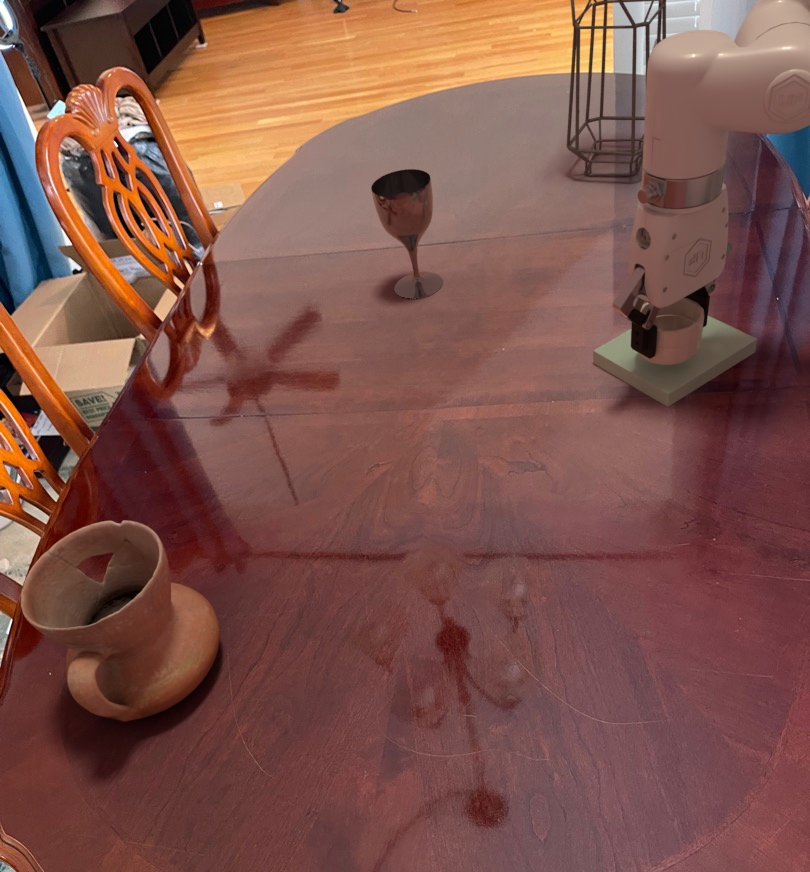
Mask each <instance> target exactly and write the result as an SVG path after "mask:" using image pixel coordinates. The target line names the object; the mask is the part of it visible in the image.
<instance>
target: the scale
mask: <svg viewBox="0 0 810 872" xmlns="http://www.w3.org/2000/svg"><path fill="white" fill-rule="evenodd" d="M757 344H758V338H757V337H755V336H752V335H750V334H748V333H746V332H744V331H742V330H740V329H737V328H736V327H733V326H731V325H729V324H727V323H725V322H723V321H720V320H718V319H716V318H714V317H713V316H710V315H708V318H707V325H706V326H705V327H703V331H702V339H701V347H700V349H699V350H698V352H697V353H696V354H695V355H694V356H693V357H692V358H690V359H689V360H687V361H685V362H682V363H679V364H674V365H660V364H655V363H652V362H649V361H647V360H645V359H644V358H643V357H642V356H641V355H640V354H639V353H638V352H636V351H635V350H633V349H632V348H631V328H630V329H628V330H626V331H624V332H623V333H621V334H620V335H619V334H618V336H616V337H614V338H612V339H611V340H609V341H607V342H605V343H604V344H602V345H600V346H598V347H597V348H595V349H593V351H592V364H594V365H595V366H597V367H598V368H600V369H602V370H603V371H605V372H607V373H609V374H611V375H612V376H614V377H616V378H617V379H619V380H621V381H623V382H624V383H626V384H628V385H629V386H631V387H632V388H635V389H636V390H638V391H639V392H641V393H643V394H645V395H647V396H648V397H650V398H652V399H653V400H655V401H657V402H658V403H660V404H661V405H663V406H665V407H666V408H669V407H670V406H671V405H673V404H675V403H677V402H678V401H679V400H681V399H683V398H684V397H686V396H688V395H689V394H691V393H692V392H694V391H696V390H697V389H698V388H701V387H702V386H703V385H705V384H707V383H709V382H710V381H712V380H713V379H715V378H716V377H718V376H719V375H721V374H723V373H724V372H726V371H727V370H729V369H731V368H732V367H733V366H735V365H737V364H739V363H741V362H742V361H744V360H745V359H747V358H749V357H750V356H752V355H753V354H755V353H756V350H757Z"/></svg>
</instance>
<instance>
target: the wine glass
mask: <svg viewBox="0 0 810 872" xmlns="http://www.w3.org/2000/svg"><path fill="white" fill-rule="evenodd" d="M370 189H371V196H372V201H373V205H374V209H375V211H376V214H377V217H378V219H379V221H380V224H381V226H382V228H384V231H385V232H386V233H387V234H388V235H390V236H391V237H392V238H394V239H395V240H396V241H398V242H399V243H400V244H401V245H403V246H404V247H405V249H406V251H407V253H408V256H409V259H410V262H411V266H412V273H409V274H408V275H406V276H403V277H402V278H400V279H399V280H398V281H397V282H396V283H395V285H394V290H393V291H394V293H395V295H396V296H398V295H399V296H398V297H400V296H401V297H400V298H402V297H405V298H404V299H406V298H410V299H409V300H417V299H416V298H418V299H423V298H426V297H430V296H432V295H433V294H436V293H437V292H439V290H440V289H442V286H443V285H444V280H443V278H442V276H441V275H440V274H438V273H435V272H431V271H419V263H418V247H419V243H420V241H421V239H422V237H424V235H425V233H426V231H427V230H428V228H429V227H430V224H431V223H432V219H433V213H434V193H433V184H432V178H431V175H430V174H429V173H428V172H427V171H425V170H421V169H416V168H415V169H413V168H408V169H407V168H406V169H400V170H396V171H392V172H390V173H386V174H383V175H382V176H380V177H378V178H377V179H376V180H375V181H374V182H373V183H372V185H371V188H370ZM411 298H412V299H411Z"/></svg>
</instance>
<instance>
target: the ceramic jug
mask: <svg viewBox="0 0 810 872" xmlns="http://www.w3.org/2000/svg"><path fill="white" fill-rule="evenodd" d="M105 554H106V555H107V554H112V555H111V559H110V560H109V561H108V563H107V567H106V571H105V574H104V576H103V581H102V582H99V581H97V580H95V579H93V578H91V577H89V576H88V575H86V574H85V573H84V572H83V571H81V570H80V569H78V566H79V565H80V564H81V563H82V562H84V561H85V560H87V559H90V558H92V557H96V556H101V555H105ZM171 580H172V579H171V571H170V564H169V559H168V555H167V552H166V549H165V546H164V543H163V542H162V540H161V538H160V537H159V535H158V533H156V532H155V530H153V529H152V528H151V527H149V526H147V525H146V524H144V523H141V522H138V521H133V520H127V519H124V520H122V521H121V522H119V523H118V522H115V521H113V520H104V521H99V522H95V523H91V524H89V525H85V526H83V527H80V528H78V529H76V530H74V531H72V532H70V533H69V534H67V535H65V536H64V537H63V538H61V539H59V540H58V541H57V542H56V543H54V544H53V545H52V546H51V547H50V548H49V549H48V550H47V551H45V552H44V553H43V554H42V555H41V556H40V557H39V558H38V559H37V561H36V562H35V563H34V565H32V567H31V568H30V570H29V572H28V574H27V575H26V578H25V580H24V583H23V586H22V589H21V594H20V608H21V611H22V614H23V616H24V618H25V620H26V621H27V622H28V623H29V624H30V625H31V626H32V627H34V629H36V630H37V631H39V632H40V633H41V634H42V635H44V636H45V637H47V638H48V639H50V640H52V641H54V642H56V643H57V644H59V645H61V646H62V647H63V646H64V647H66V648H68V649H67V653H66V658H65V664H64V665H65V667H64V668H65V678H66V683H67V687H68V690H69V693H70V694H71V696H72V698H73V699H74V701H75V702H76V703H77V704H79V706H81V707H82V708H83V709H85V710H87V711H88V712H90V713H91V714H94V715H96V716H99V717H103V718H106V719H111V720H115V721H116V720H117V721H120V722H130V721H134V720H141V719H144V718H147V717H150V716H154V715H157V714H160V713H161V712H164V711H166V710H168V709H170V708H172V707H173V706H175V705H177V704H178V703H180V702H181V701H183V700H184V699H185V698H187V697H188V696H189V695H191V693H193V691H195V689H197V687H199V685H200V684H201V683H202V682H203V680H205V678H206V676H207V675H208V673H209V671H210V670H211V668H212V667H213V665H214V662H215V660H216V657H217V654H218V651H219V646H220V639H221V630H220V623H219V619H218V616H217V614H216V611H215V609H214V607H213V605H212V604H211V603H210V602H209V600H208V599H207V598H206V597H204V596H203V595H202V594H201V593H200V592H198V591H196V590H195V589H193V588H191V587H189V586H186V585H184V584H181V583H177V582H172V581H171Z"/></svg>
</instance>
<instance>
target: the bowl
mask: <svg viewBox="0 0 810 872" xmlns="http://www.w3.org/2000/svg"><path fill="white" fill-rule="evenodd" d="M649 305H650V303H648V302H644V303H643V306H642V308H641V311H640V312H642V313H643V314H645V315H646V313H647V310H648V308H649ZM703 322H704V309H703V308H702V307H701V306H700V305H699V304H698V303H697V302H695V301H693V300H690V299H688V298H682V299H680V300H679V301H677V302H675V303H673V304H671V305H669V306H667V307H665V308H660V309H659V312H658V314H657V316H656V319H655V321H654V325H656V326H657V342H656V354H655V356H654V357H653V358H651V359H649V358H647V357H645V356H644V355H642V354H640V353H639V354H640V355H641V356H642V357H643V358H644V359H645V360H647V361H649V362H652V363H655V364H660V365H674V364H679V363H682V362H685V361H687V360H689V359H690V358H692V357H693V356H694V355H695V354H696V353H697V352H698V350H699V349H700V347H701V339H702V331H703Z"/></svg>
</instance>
